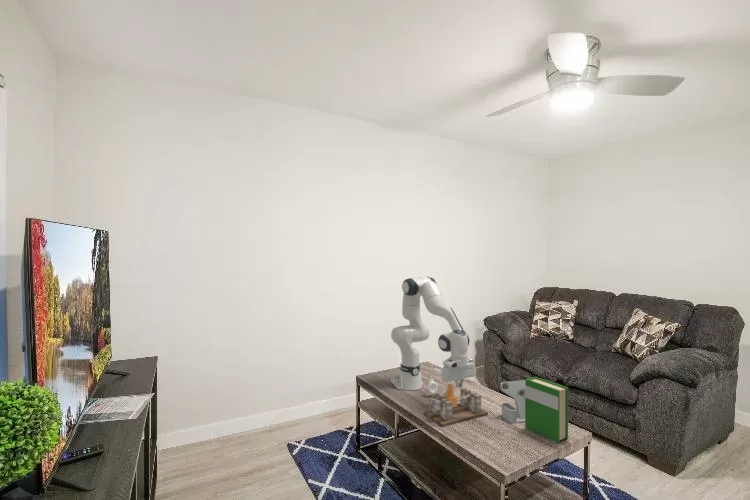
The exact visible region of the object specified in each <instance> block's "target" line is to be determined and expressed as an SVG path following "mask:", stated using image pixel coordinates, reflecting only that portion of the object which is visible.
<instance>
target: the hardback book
mask: <svg viewBox="0 0 750 500" xmlns="http://www.w3.org/2000/svg"><path fill="white" fill-rule="evenodd" d="M524 380H525V422H524V425H525V429H527V430H528V431H531V432H533V433H535V434H537V435H538V436H541V435H542V437H543V436H544V438H545V437H546V439H548V440H550V439H551V440H550V441H552V440H553V441H552V442H554V441H555V442H554V443H556V442H558V443H557V444H560V441H561V440H564V438H566V439H568V440H569V387H568V386H565V385H562V384H558V383H556V382H553V381H549V380H548V379H547V380H546V379H544V378H540V377H538V376H533V377H528V378H526V379H524ZM566 439H565V440H566Z"/></svg>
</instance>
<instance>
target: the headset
mask: <svg viewBox="0 0 750 500" xmlns="http://www.w3.org/2000/svg"><path fill="white" fill-rule="evenodd" d="M434 373H436V374H437V375H439V376H440V377H442V371H441V370H440V369H438V368H433V369H431V371H430V374H429V379H428V384H427V392H428V393H427V394H425V396H426V397H429V396H432V394H436V393H437V392H438V390H439V385H438V383H437V382H436V381H434V380H435V379H434ZM447 384H449V382H446V381H444V385H445V390H443V391H441V393H440V394H439V396H442V397H443V399H444V396H445V395H447Z"/></svg>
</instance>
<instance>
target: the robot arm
mask: <svg viewBox="0 0 750 500" xmlns="http://www.w3.org/2000/svg"><path fill="white" fill-rule="evenodd" d="M401 289H402V292H403V295H402V309H401V312H402V313H401V314H402V317H403V318H404V319H405V320H407V321H409V324H406V325H399V326H397V327H394V328H392V330H391V334H390V336H391V339H392V341H393V343H395V344H396V345H397V346H398V348H399V349H400V353H401V363H400V368H399V369H398V370H397V371H396V372H395V373H394V377H393V378H391V379H390V382H391V384H394V387H395V388H396V389H397V390H403V391H404V390H405V391H416V390H420V389H422V387H423V385H424V382H423V380H422V372H421V364H420V352H419V350H417V348H415V347H413V346H412V343H420V342H423V341H426V340H428V339H429V337H430V329H429V327H428V326H427V325H426V324H425V323H424V322H423V321H422V318H421V297H422V300H423V303H424V307H425V308H426V310H427V311H428V312H429V313H430V314H432V315H433V316H438V317H441V318H443V319H445V321H447V322H448V325H449V326H450V328H451V330H452V331H450V332H448V333H444V334H443V333H442V334H440V336H439V337H438V341H437V345H438V348H439V349H440V350H441V351H442V352H446V353H447V352H448V353H450V356H449V357H448V358H447V359H445V360H443V361H442V376H441V379H442V380H443V381H444V382H445V381H446V382H448V383H449V382H454V383H455V386H456V388H457V389H459V388H463V384H464V383H465V379H468V378H473V377H476V375H477V371H476V362H475V360H474V359H472V358H470V359H469V355H468V349H469V345H470V341H471V340H470V337H469V335H468V334H467V332H466V331H465V330H464V328H463V326H462V325H461V322H460V320H459V319H458V317H457V315H456V313H455V311H454V310H453V308H452V307H451V306H450V305H449V304H448V303H447V302H446V301H445V299H444V297H443V295H442V293H441V291H440V289H439V287H438V284H437V282H436V279H435V278H433V277H430V276H418V277H412V278H411V277H409V278H406V279H404V280H403V282H402V285H401Z"/></svg>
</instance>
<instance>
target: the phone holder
mask: <svg viewBox="0 0 750 500" xmlns="http://www.w3.org/2000/svg"><path fill="white" fill-rule="evenodd" d="M503 384H505V385H506V388H503ZM499 387H500V391H501V392H502V393H504V394H506V395H508V396H509V397H511V398H512V399H514V403H515V407H514V406H513V405H512V404H511V403H507V402H504V403H501V415H500V416H501V417H502V418H503V420H506V421H507V422H508V423H510V424H519V423H525V379H522V380H521V379H520V380H512V381H502V382H500V384H499ZM521 391H522V392H523V395H521V394H520V392H521Z"/></svg>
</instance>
